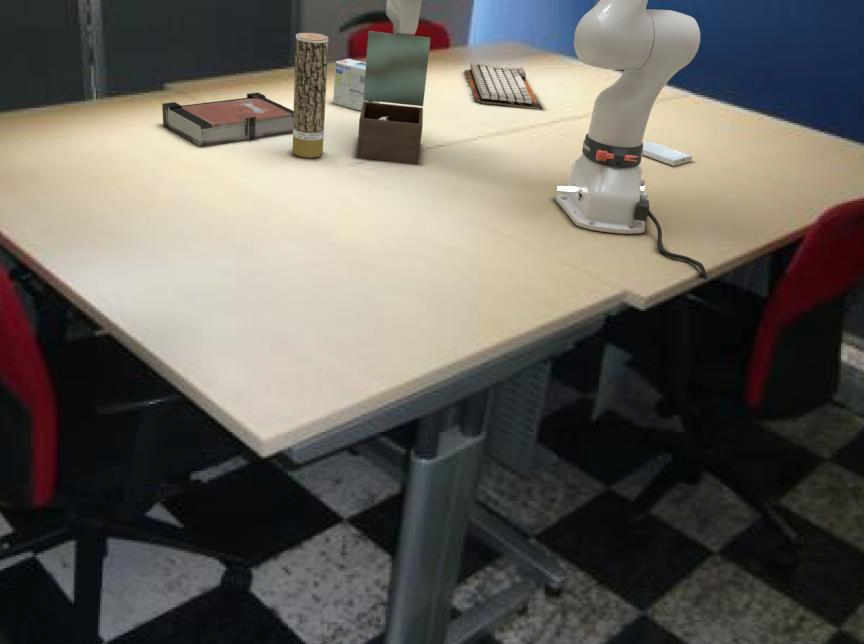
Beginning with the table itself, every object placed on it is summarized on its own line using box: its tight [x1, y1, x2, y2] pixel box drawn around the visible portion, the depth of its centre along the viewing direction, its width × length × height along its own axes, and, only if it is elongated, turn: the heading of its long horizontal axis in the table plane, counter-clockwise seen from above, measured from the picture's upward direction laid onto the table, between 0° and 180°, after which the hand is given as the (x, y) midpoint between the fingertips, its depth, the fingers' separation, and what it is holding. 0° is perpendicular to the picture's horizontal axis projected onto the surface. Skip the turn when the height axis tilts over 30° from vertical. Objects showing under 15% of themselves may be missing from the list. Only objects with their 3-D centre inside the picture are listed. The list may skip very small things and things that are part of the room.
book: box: [161, 92, 294, 148], centre depth 210 cm, size 26×18×5 cm
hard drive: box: [642, 140, 693, 167], centre depth 226 cm, size 2×8×12 cm
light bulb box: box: [332, 58, 380, 112], centre depth 235 cm, size 11×7×11 cm, turn 58°
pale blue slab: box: [363, 30, 431, 107], centre depth 206 cm, size 15×14×1 cm
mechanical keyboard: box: [463, 61, 543, 110], centre depth 267 cm, size 38×19×3 cm, turn 2°
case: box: [356, 102, 424, 165], centre depth 207 cm, size 14×14×9 cm
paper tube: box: [292, 32, 329, 159], centre depth 195 cm, size 7×7×25 cm
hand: (397, 46), depth 207 cm, fingers closed
